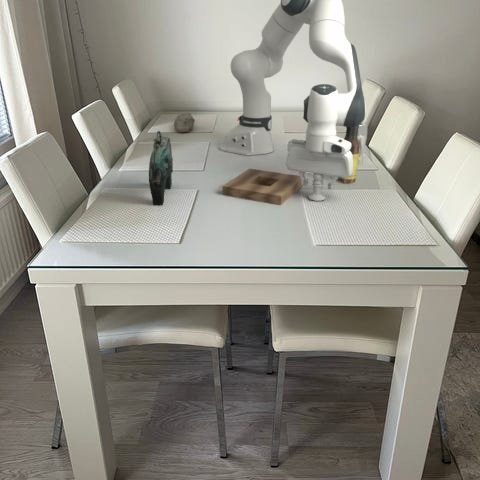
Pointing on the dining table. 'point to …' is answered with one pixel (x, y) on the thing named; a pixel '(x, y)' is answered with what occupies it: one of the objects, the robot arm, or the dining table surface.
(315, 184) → the chess piece
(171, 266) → the dining table surface
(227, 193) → the walnut board
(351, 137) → the sauce bottle
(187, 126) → the long grey stone
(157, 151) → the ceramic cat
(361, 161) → the beer glass
